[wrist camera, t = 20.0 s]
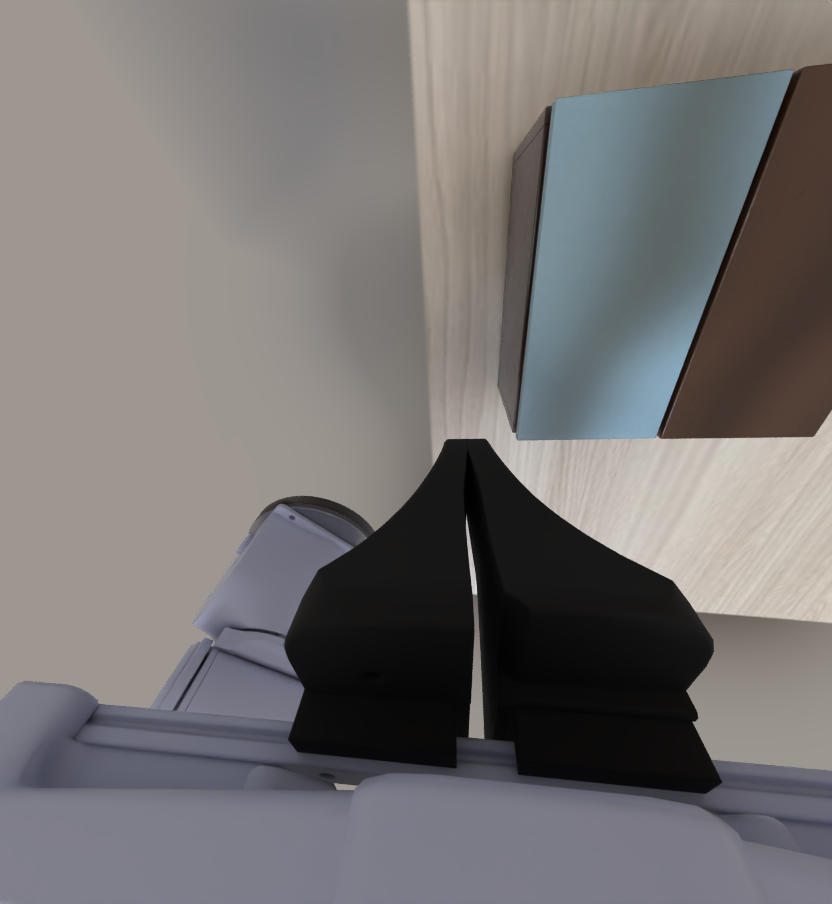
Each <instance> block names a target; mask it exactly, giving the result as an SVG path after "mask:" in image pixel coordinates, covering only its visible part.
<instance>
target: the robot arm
mask: <svg viewBox="0 0 832 904" xmlns="http://www.w3.org/2000/svg"><path fill="white" fill-rule="evenodd" d="M466 514H467V521H468V527H469V534H470V540H471V547H472V553H473V560H474V566H475V573H476V582H477V595H478V613H479V629H480V630H479V631H480V650H481V671H482V692H483V714H484V736H485V737H484V738H485V739H478V738H468V735H469V714H470V704H471V688H472V669H473V648H474V613H473V595H472V586H471V577H470V568H469V558H468V547H467V536H466ZM237 554H238V555H237V556H236V558H235V560H234V561H233V562H232V564H231V565H230V566H229V568H228V569H227V571H226V573H225V574H224V575H223V577H222V578H221V580H220V581H219V583H218V584H217V585H216V587H215V588H214V590H213V592H212V593H211V594H210V596H209V597H208V599H207V600H206V602H205V603H204V604H203V606H202V608H201V609H200V611H199V612H198V614H197V615H196V617H195V619H194V620H193V625H194V626H196V627H197V628H199V629H201V630H202V631H204V632H205V633H207V634H208V635H209V636H210V637H211V638H212V639H213V640H214V641H215V644H214V645H213V646H211V644H212V643H213V640H210V639H207V638H205V639H203V640H202V641H201V642H198V643H195V644H193V645H191V646H190V648H189V649H188V650H187V652H186V653H185V655H184V656H183V658H182V659H181V661H180V662H179V664H178V665H177V667H176V669H175V670H174V671H173V673H172V674H171V676H170V678H169V679H168V681H167V682H166V684H165V686H164V687H163V689H162V690H161V691H160V693H159V695H158V696H157V698H156V699H155V701H154V703H153V704H152V706H151V707H150V709H149V708H137V707H127V706H116V705H105V704H98V700H97V699H95V698H94V697H93V696H92V695H91V694H89V693H88V692H86V691H84V690H82V689H80V688H77V687H74V686H71V685H65V684H56V683H44V682H32V681H23V682H20V683H18V684H17V685H15V686H14V687H13V688H12V690H11V691H10V692H9V693H8V694H7V695H6V696H5V697H4V698H3V699H2V700H1V701H0V904H832V771H827V770H818V769H805V768H796V767H785V766H774V765H763V764H752V763H741V762H730V761H718V760H711V758H710V756H709V754H708V752H707V750H706V748H705V746H704V744H703V742H702V740H701V738H700V736H699V734H698V732H697V730H696V728H695V726H694V724H693V722H692V721H696V720H697V719H698V714H697V711H696V709H695V707H694V705H693V703H692V701H691V699H690V697H689V695H688V693H687V692H686V690H687V689H688V688H689V687H690V685H691V684H692V683H693V682H694V681H695V679H696V678H697V677H698V676H699V674H700V673H701V672H702V671H703V670H704V669H705V667H706V666H707V664H708V662H709V660H710V659H711V657H712V655H713V652H714V644H713V639H712V637H711V636H710V634H709V632H708V631H707V630H706V628H705V626H704V625H703V623H702V622H701V620H700V619H699V617H698V615H697V614H696V612H695V611H694V609H693V608H692V606H691V604H690V603H689V602H688V600H687V599H686V598H685V596H684V595H683V594H682V592H681V591H680V590H679V589H678V587H677V586H676V585H675V583H674V582H673V581H672V580H670V579H668V578H666V577H664V576H662V575H660V574H658V573H656V572H654V571H652V570H650V569H648V568H646V567H644V566H642V565H640V564H638V563H636V562H634V561H632V560H630V559H628V558H626V557H624V556H622V555H620V554H618V553H617V552H615V551H613V550H611V549H610V548H608V547H606V546H604V545H603V544H601V543H599V542H598V541H596V540H594V539H593V538H591V537H589V536H588V535H586V534H585V533H583V532H581V531H580V530H578V529H577V528H575V527H574V526H573V525H571V524H570V523H568V522H567V521H565V520H564V519H562V518H561V517H560V516H558V515H557V514H556V513H554V512H553V511H552V510H550V509H549V508H548V507H547V506H546V505H544V504H543V503H542V502H541V501H540V500H538V499H537V498H536V497H535V496H534V495H533V494H532V493H531V492H530V491H529V490H528V489H527V488H526V487H525V486H524V485H523V484H522V483H521V482H520V481H519V480H518V479H517V478H516V477H515V476H514V475H513V474H512V472H511V471H510V470H509V469H508V468H507V467H506V465H505V464H504V463H503V462H502V460H501V459H500V458H499V456H498V455H497V454H496V452H495V451H494V450H493V448H492V447H491V445H490V444H489V442H488V441H487V440H486V439H447V440H446V441H445V442H444V446H443V448H442V451H441V453H440V455H439V457H438V459H437V461H436V462H435V464H434V466H433V467H432V469H431V471H430V472H429V474H428V475H427V477H426V478H425V479H424V481H423V482H422V484H421V485H420V486H419V488H418V489H417V490H416V492H415V493H414V494H413V495H412V496H411V498H410V499H409V500H408V501H407V502H406V503H405V504H404V505H403V507H402V508H401V509H400V510H399V511H398V512H396V513H395V514H394V515H393V516H392V517H391V518H390V519H389V520H388V521H387V522H386V523H385V524H384V525H383V526H381V527H380V528H379V529H378V530H377V531H375V532H374V533H373V534H371V535H370V536H369V537H368V538H366V539H365V540H364V541H362V542H361V543H360V544H358V545H357V546H355V547H353V546H352V545H350V544H348V543H347V542H345V541H343V540H342V539H340V538H339V537H337V536H335V535H334V534H332V533H330V532H329V531H327V530H326V529H324V528H322V527H321V526H319V525H317V524H316V523H314V522H313V521H311V520H309V519H308V518H306V517H304V516H303V515H301V514H300V513H298V512H296V511H295V510H293V509H291V508H290V507H288V506H287V505H285V504H279V505H277V507H276V508H275V509H274V510H273V511H272V512H271V514H270V515H269V516H268V517H267V518H266V520H265V521H264V522H263V523H262V524H261V525H260V527H259V528H258V529H257V530H256V531H255V532H254V534H252V533H250V534H249V535H248V536H247V538H246V539H245V540H244V542H243V543H242V544H241V546H240V547H239V548H238V550H237ZM334 783H339V784H348V785H357V787H356V788H355V790H336V787H335V785H334Z"/></svg>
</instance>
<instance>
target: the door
mask: <svg viewBox="0 0 832 904" xmlns="http://www.w3.org/2000/svg"><path fill="white" fill-rule="evenodd" d="M793 71H794V70H793V69H789V70H781V71H773V72H765V73H757V74H749V75H741V76H733V77H725V78H717V79H709V80H701V81H693V82H685V83H676V84H668V85H660V86H652V87H644V88H636V89H628V90H620V91H612V92H604V93H596V94H588V95H580V96H572V97H564V98H557V99H556V100H555V101H554V103H553V104H552V112H551V121H550V130H549V139H548V148H547V157H546V166H545V175H544V184H543V193H542V202H541V212H540V221H539V230H538V239H537V248H536V257H535V266H534V275H533V284H532V293H531V302H530V311H529V320H528V329H527V339H526V348H525V357H524V366H523V375H522V384H521V393H520V402H519V411H518V420H517V429H516V438H517V440H573V439H634V438H656V435H657V433H658V430H659V427H660V425H661V422H662V419H663V417H664V414H665V411H666V409H667V406H668V403H669V401H670V398H671V395H672V393H673V390H674V387H675V385H676V382H677V379H678V377H679V374H680V371H681V369H682V366H683V364H684V361H685V358H686V356H687V353H688V350H689V348H690V345H691V342H692V340H693V337H694V334H695V332H696V329H697V326H698V324H699V321H700V318H701V316H702V313H703V310H704V308H705V305H706V302H707V300H708V297H709V294H710V292H711V289H712V287H713V284H714V281H715V279H716V276H717V273H718V271H719V268H720V265H721V263H722V260H723V257H724V255H725V252H726V249H727V247H728V244H729V241H730V239H731V236H732V233H733V231H734V228H735V225H736V223H737V220H738V217H739V215H740V212H741V209H742V207H743V204H744V202H745V199H746V196H747V194H748V191H749V188H750V186H751V183H752V180H753V178H754V175H755V172H756V170H757V167H758V164H759V162H760V159H761V156H762V154H763V151H764V148H765V146H766V143H767V140H768V138H769V135H770V132H771V130H772V127H773V124H774V122H775V119H776V117H777V114H778V111H779V109H780V106H781V103H782V101H783V98H784V95H785V93H786V90H787V87H788V85H789V82H790V79H791V77H792V74H793Z"/></svg>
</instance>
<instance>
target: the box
mask: <svg viewBox="0 0 832 904" xmlns="http://www.w3.org/2000/svg"><path fill="white" fill-rule="evenodd" d="M551 112H552V106H547V107H546V108H545V110H544V111H543V112H542V114H541V115H540V117H539V118H538V120H537V121H536V122H535V124H534V125H533V127H532V128H531V130H530V131H529V132H528V134H527V135H526V137H525V138H524V140H523V141H522V142H521V144H520V145H519V147H518V148H517V150H516V151H515V152H514V156H513V170H512V185H511V199H510V214H509V228H508V243H507V257H506V272H505V286H504V300H503V315H502V329H501V344H500V358H499V373H498V389H499V392H500V395H501V398H502V401H503V404H504V407H505V410H506V414H507V417H508V420H509V423H510V426H511V429H512V432H513V433H516V429H517V420H518V411H519V402H520V393H521V384H522V375H523V366H524V357H525V348H526V339H527V329H528V320H529V311H530V302H531V293H532V284H533V275H534V266H535V257H536V248H537V239H538V230H539V221H540V212H541V202H542V193H543V184H544V175H545V166H546V157H547V148H548V139H549V130H550V121H551ZM831 410H832V63H831V64H823V65H815V66H808V67H804V68H802V69H800V70H798V71H795V72H794V73H793V74H792V77H791V79H790V82H789V85H788V87H787V90H786V93H785V95H784V98H783V101H782V103H781V106H780V109H779V111H778V114H777V117H776V119H775V122H774V124H773V127H772V130H771V132H770V135H769V138H768V140H767V143H766V146H765V148H764V151H763V154H762V156H761V159H760V162H759V164H758V167H757V170H756V172H755V175H754V178H753V180H752V183H751V186H750V188H749V191H748V194H747V196H746V199H745V202H744V204H743V207H742V209H741V212H740V215H739V217H738V220H737V223H736V225H735V228H734V231H733V233H732V236H731V239H730V241H729V244H728V247H727V249H726V252H725V255H724V257H723V260H722V263H721V265H720V268H719V271H718V273H717V276H716V279H715V281H714V284H713V287H712V289H711V292H710V294H709V297H708V300H707V302H706V305H705V308H704V310H703V313H702V316H701V318H700V321H699V324H698V326H697V329H696V332H695V334H694V337H693V340H692V342H691V345H690V348H689V350H688V353H687V356H686V358H685V361H684V364H683V366H682V369H681V371H680V374H679V377H678V379H677V382H676V385H675V387H674V390H673V393H672V395H671V398H670V401H669V403H668V406H667V409H666V411H665V414H664V417H663V419H662V422H661V425H660V427H659V430H658V433H657V436H658V437H659V438H661V439H679V438H764V437H814V436H815V434H816V433H817V431H818V430H819V428H820V427H821V425H822V424H823V422H824V421H825V419H826V418H827V416H828V415H829V413H830V412H831Z"/></svg>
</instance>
